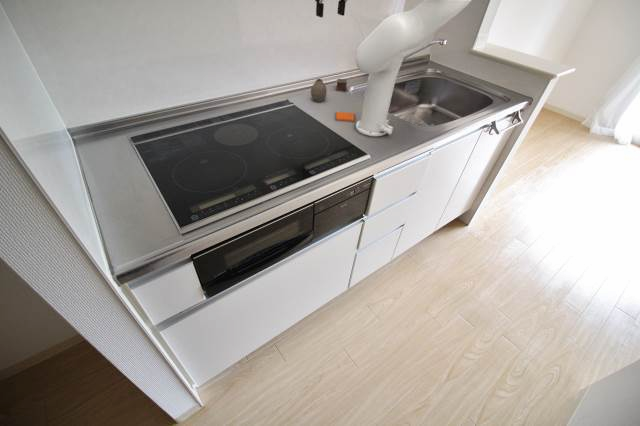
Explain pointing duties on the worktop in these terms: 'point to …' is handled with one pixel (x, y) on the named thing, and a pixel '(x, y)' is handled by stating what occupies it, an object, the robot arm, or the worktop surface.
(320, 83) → the vase
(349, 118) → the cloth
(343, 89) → the walnut block
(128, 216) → the worktop surface
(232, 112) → the worktop surface
